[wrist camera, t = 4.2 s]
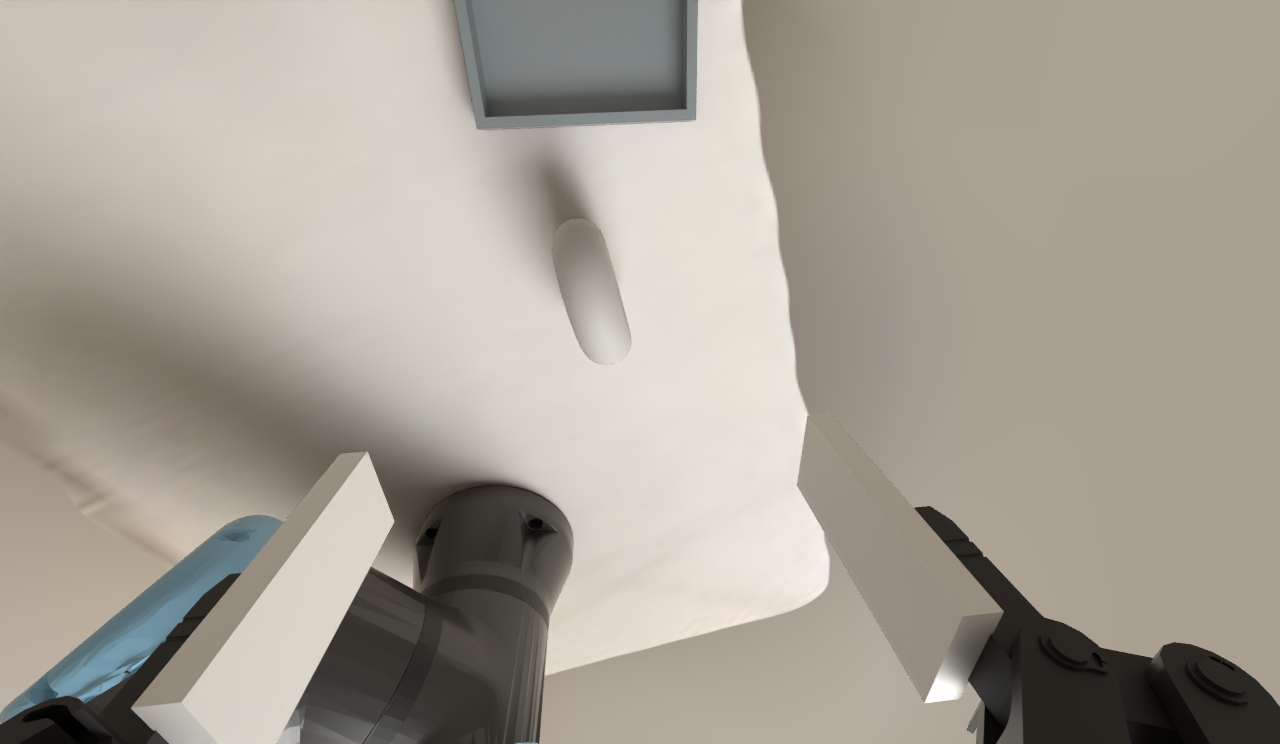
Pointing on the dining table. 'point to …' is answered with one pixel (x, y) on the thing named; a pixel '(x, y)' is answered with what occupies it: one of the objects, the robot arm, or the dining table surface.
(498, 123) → the tray
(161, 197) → the dining table surface
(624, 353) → the donut
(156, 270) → the dining table surface
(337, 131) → the dining table surface
